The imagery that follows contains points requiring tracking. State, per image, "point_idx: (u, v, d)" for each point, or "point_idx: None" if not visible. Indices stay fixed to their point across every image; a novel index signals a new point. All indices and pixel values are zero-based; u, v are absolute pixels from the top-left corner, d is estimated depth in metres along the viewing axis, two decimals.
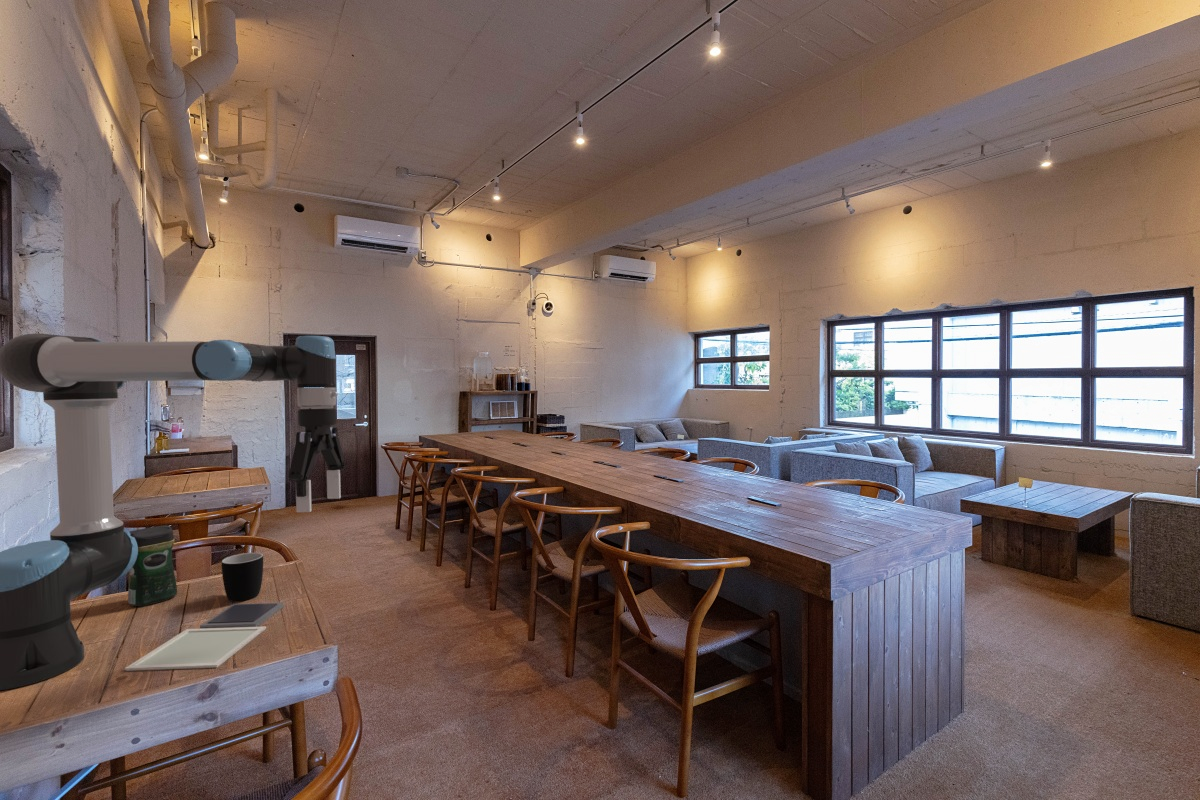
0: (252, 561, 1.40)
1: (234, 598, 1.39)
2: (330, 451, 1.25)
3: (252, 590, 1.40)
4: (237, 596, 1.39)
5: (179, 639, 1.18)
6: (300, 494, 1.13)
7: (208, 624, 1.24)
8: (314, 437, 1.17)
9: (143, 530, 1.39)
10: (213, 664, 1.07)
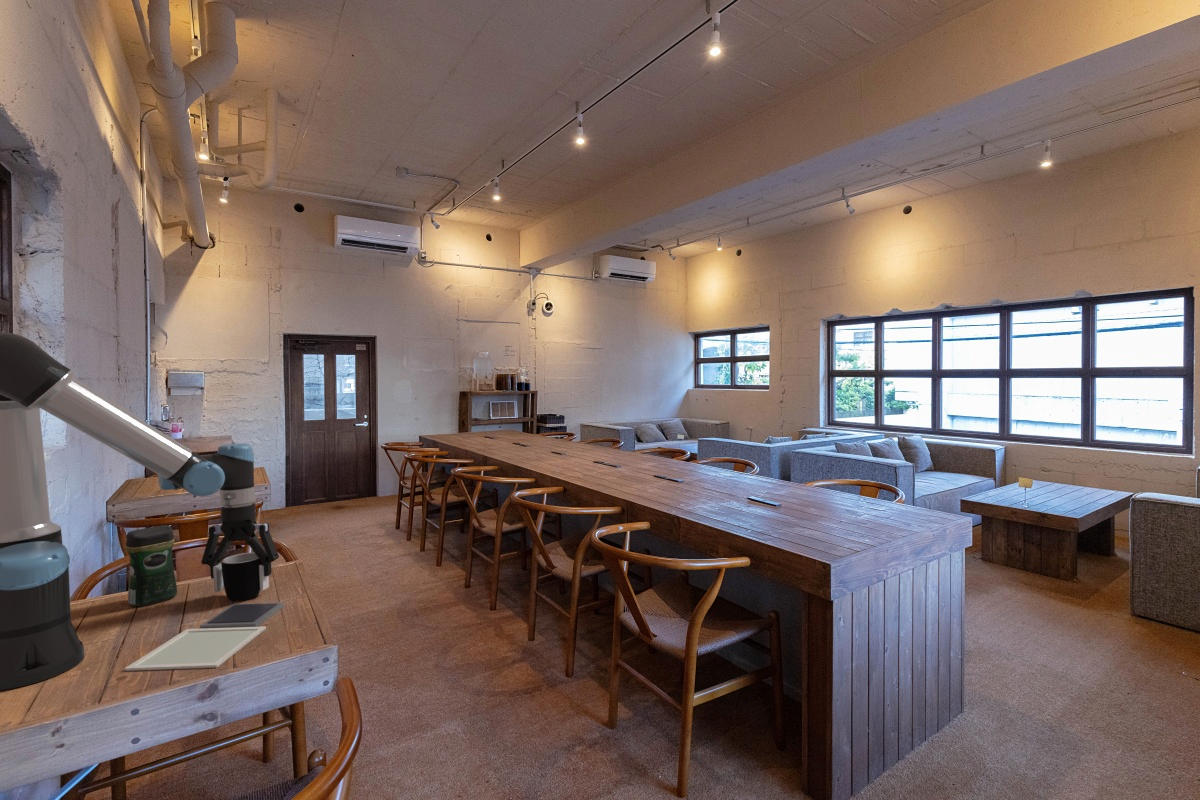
0: (252, 560, 1.40)
1: (234, 598, 1.39)
2: None
3: (252, 590, 1.40)
4: (237, 596, 1.39)
5: (179, 639, 1.18)
6: None
7: (208, 624, 1.24)
8: (222, 530, 1.41)
9: (143, 530, 1.39)
10: (213, 664, 1.07)
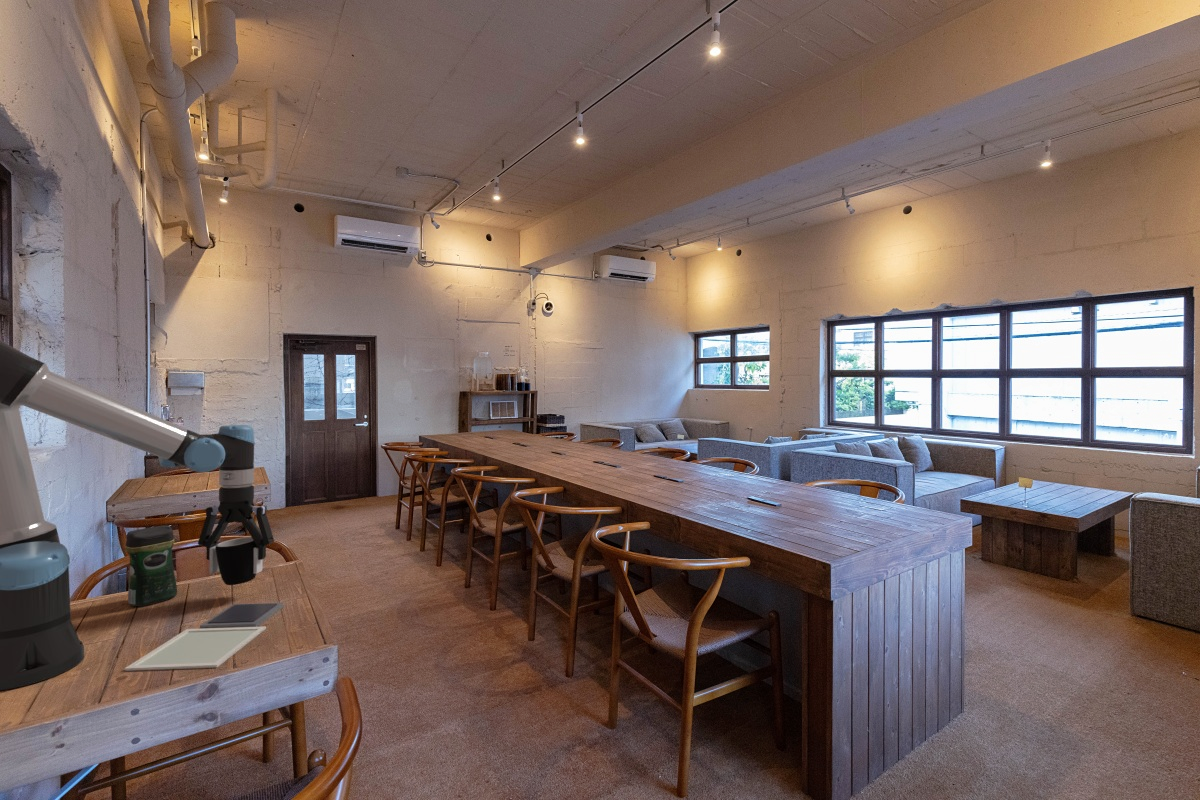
0: (245, 543, 1.39)
1: (229, 581, 1.38)
2: None
3: (247, 573, 1.40)
4: (232, 579, 1.38)
5: (179, 639, 1.18)
6: None
7: (208, 624, 1.24)
8: (219, 510, 1.41)
9: (143, 530, 1.39)
10: (213, 664, 1.07)
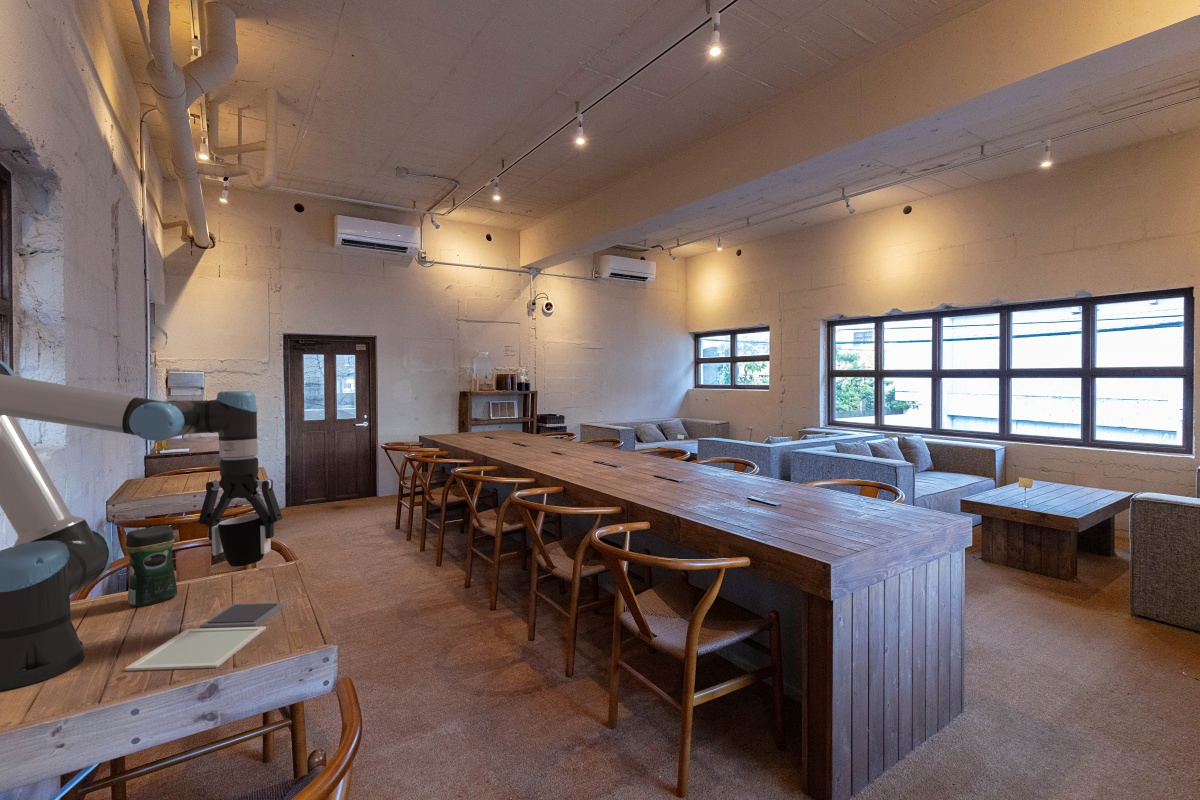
0: (250, 520, 1.26)
1: (235, 563, 1.25)
2: None
3: (254, 553, 1.27)
4: (238, 560, 1.25)
5: (179, 639, 1.18)
6: None
7: (208, 624, 1.24)
8: (220, 485, 1.27)
9: (143, 530, 1.39)
10: (213, 664, 1.07)
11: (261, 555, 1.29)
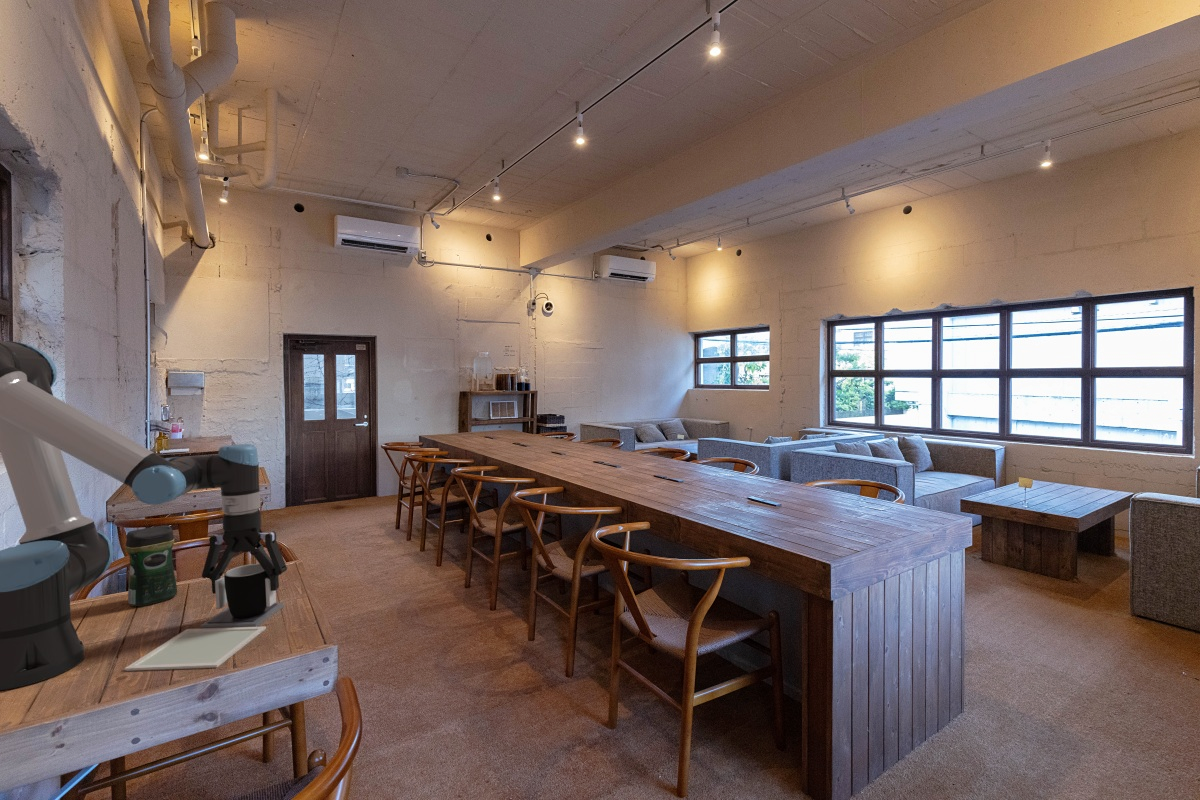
0: (257, 573, 1.26)
1: (238, 615, 1.26)
2: None
3: (257, 606, 1.27)
4: (241, 612, 1.25)
5: (179, 639, 1.18)
6: None
7: (208, 624, 1.24)
8: (224, 540, 1.28)
9: (143, 530, 1.39)
10: (213, 664, 1.07)
11: (264, 607, 1.29)
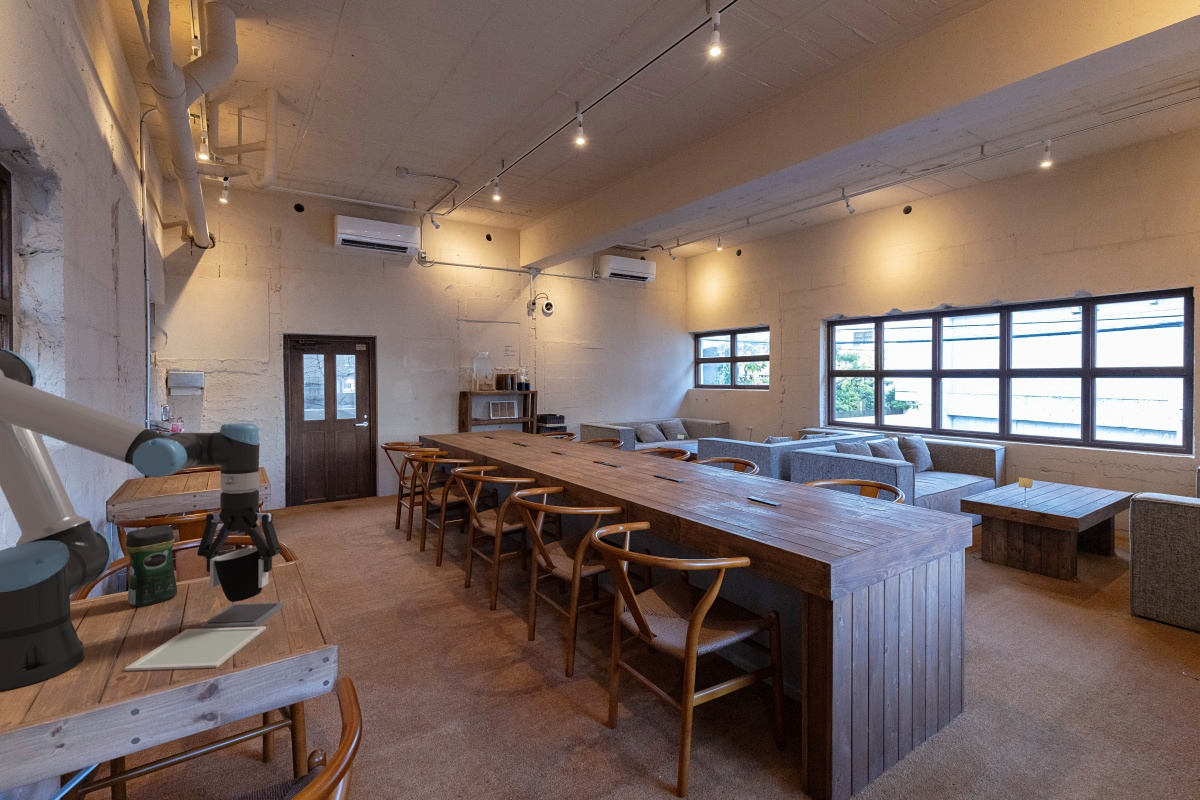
0: (246, 555, 1.26)
1: (233, 598, 1.25)
2: None
3: (252, 587, 1.27)
4: (236, 595, 1.25)
5: (179, 639, 1.18)
6: None
7: (208, 624, 1.24)
8: (220, 518, 1.28)
9: (143, 530, 1.39)
10: (213, 664, 1.07)
11: (259, 588, 1.29)
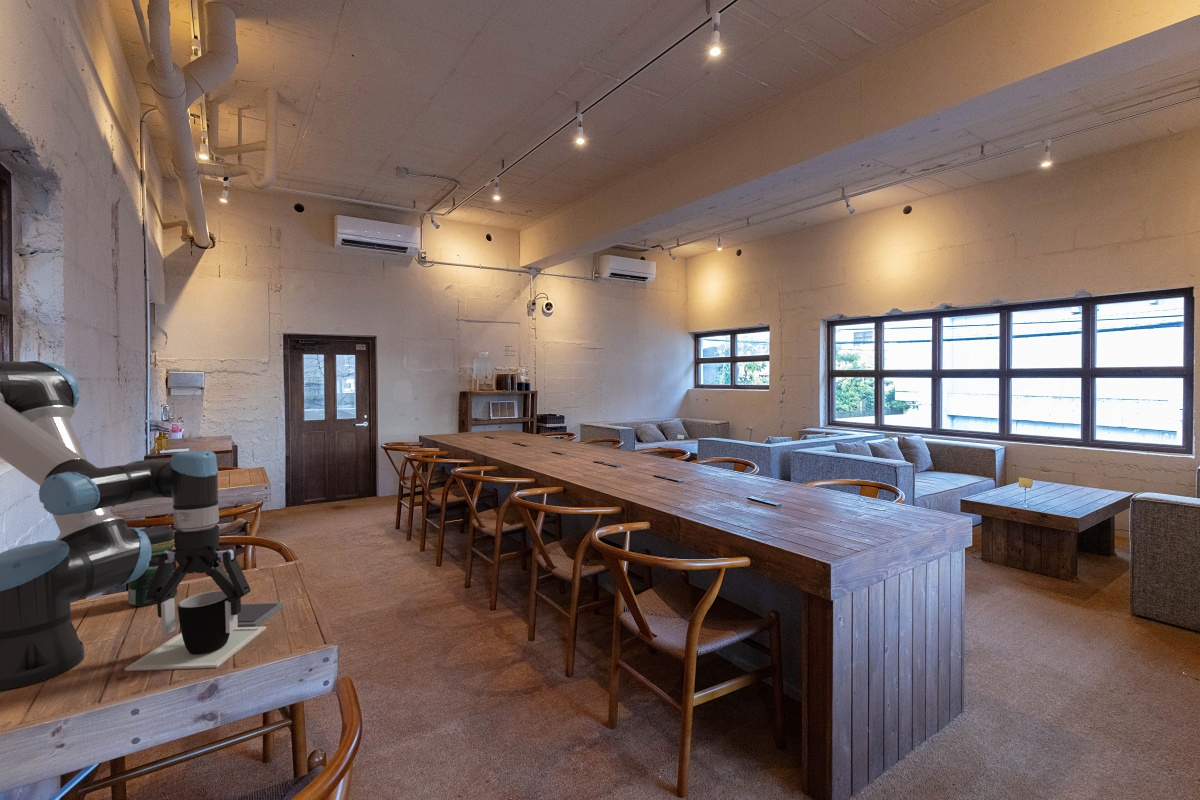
0: (215, 603, 1.11)
1: (194, 650, 1.11)
2: None
3: (216, 639, 1.12)
4: (197, 648, 1.10)
5: (179, 639, 1.18)
6: None
7: None
8: (175, 558, 1.13)
9: (143, 530, 1.39)
10: (213, 664, 1.07)
11: (225, 640, 1.14)
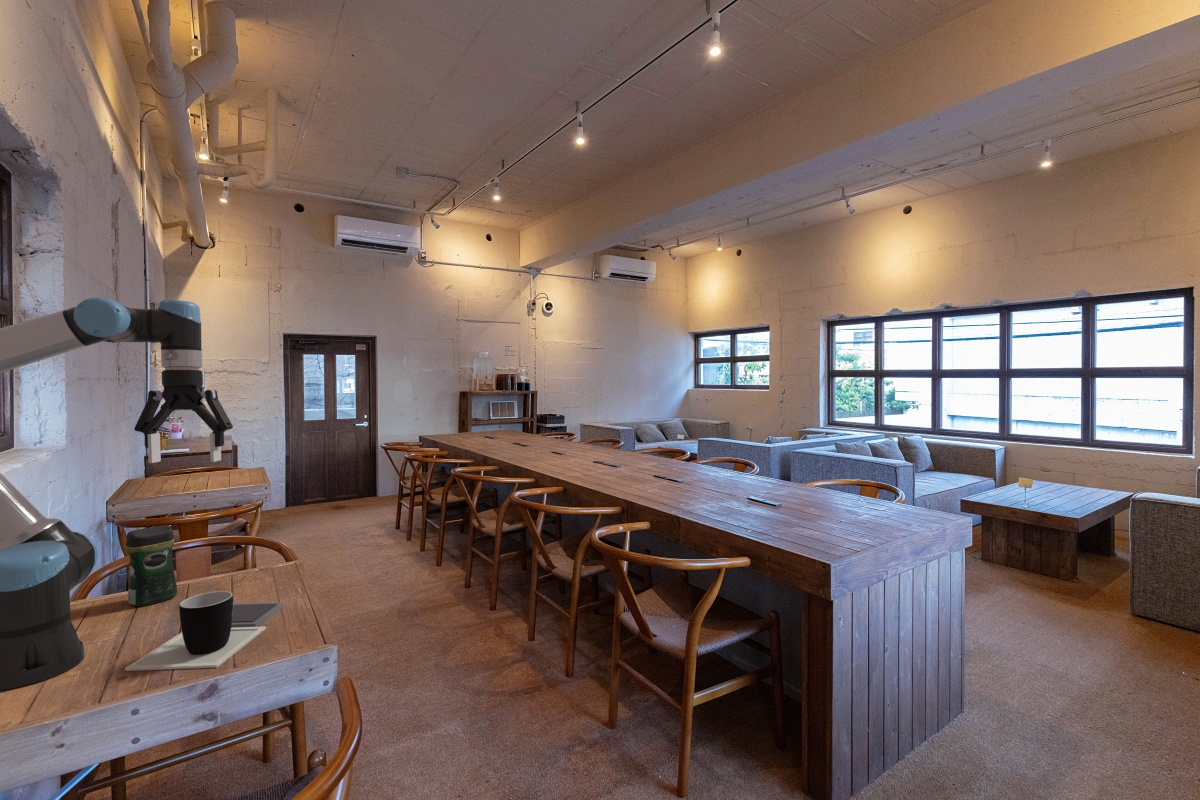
0: (216, 604, 1.11)
1: (194, 651, 1.11)
2: None
3: (217, 640, 1.12)
4: (197, 648, 1.10)
5: (179, 639, 1.18)
6: None
7: None
8: (163, 396, 1.26)
9: (143, 530, 1.39)
10: (213, 664, 1.07)
11: (225, 642, 1.14)
